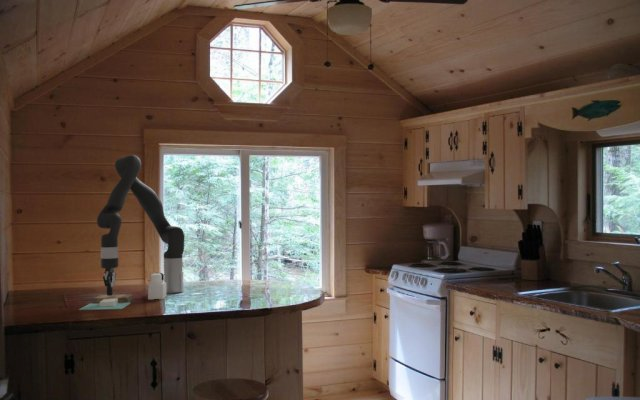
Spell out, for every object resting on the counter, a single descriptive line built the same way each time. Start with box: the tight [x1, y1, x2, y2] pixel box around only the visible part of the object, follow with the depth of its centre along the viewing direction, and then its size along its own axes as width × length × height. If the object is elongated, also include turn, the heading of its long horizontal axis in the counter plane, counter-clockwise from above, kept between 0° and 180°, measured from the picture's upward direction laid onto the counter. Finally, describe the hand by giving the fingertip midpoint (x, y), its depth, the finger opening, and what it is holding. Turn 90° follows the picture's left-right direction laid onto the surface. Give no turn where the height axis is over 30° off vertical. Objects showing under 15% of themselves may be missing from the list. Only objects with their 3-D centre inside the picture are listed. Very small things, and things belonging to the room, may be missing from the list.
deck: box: [93, 293, 134, 303], centre depth 289 cm, size 15×10×2 cm, turn 94°
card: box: [100, 298, 118, 306], centre depth 279 cm, size 9×6×2 cm, turn 7°
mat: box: [78, 301, 132, 311], centre depth 276 cm, size 18×16×1 cm
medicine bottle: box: [147, 272, 168, 301], centre depth 297 cm, size 7×7×12 cm
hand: (109, 295), depth 284 cm, fingers closed
